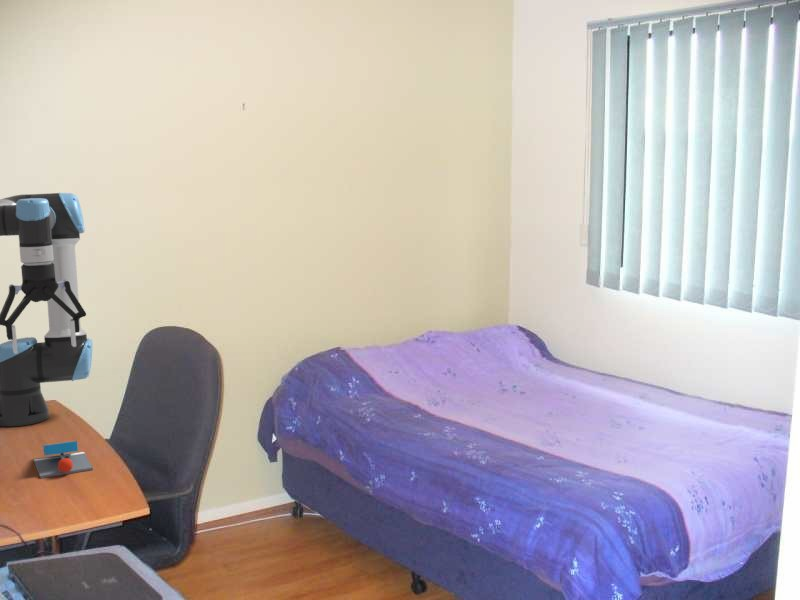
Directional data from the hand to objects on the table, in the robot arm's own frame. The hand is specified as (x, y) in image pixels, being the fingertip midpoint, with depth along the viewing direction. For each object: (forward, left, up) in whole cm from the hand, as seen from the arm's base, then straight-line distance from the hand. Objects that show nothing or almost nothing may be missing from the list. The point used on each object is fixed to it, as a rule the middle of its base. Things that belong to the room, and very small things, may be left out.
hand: (45, 349), depth 240 cm
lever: (+3, +3, -28) cm, 29 cm away
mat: (+4, +3, -29) cm, 29 cm away
